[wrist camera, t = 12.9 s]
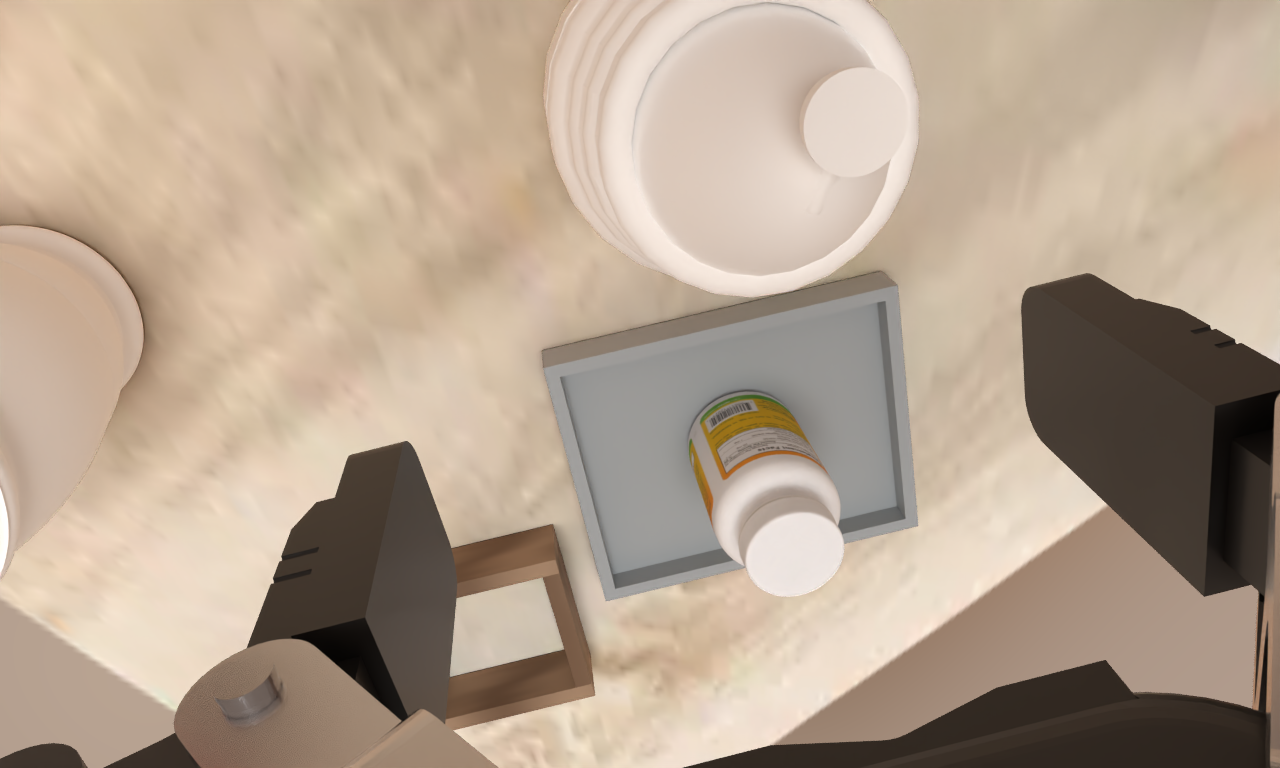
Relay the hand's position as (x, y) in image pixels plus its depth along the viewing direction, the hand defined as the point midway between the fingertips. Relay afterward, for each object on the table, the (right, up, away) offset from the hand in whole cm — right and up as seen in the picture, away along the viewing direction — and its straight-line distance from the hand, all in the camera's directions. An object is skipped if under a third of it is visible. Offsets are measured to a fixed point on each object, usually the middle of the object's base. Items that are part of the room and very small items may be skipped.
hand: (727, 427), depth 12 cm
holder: (-9, -11, +37) cm, 40 cm away
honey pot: (+1, +13, +28) cm, 30 cm away
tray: (+3, -2, +34) cm, 34 cm away
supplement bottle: (+4, -2, +34) cm, 34 cm away
